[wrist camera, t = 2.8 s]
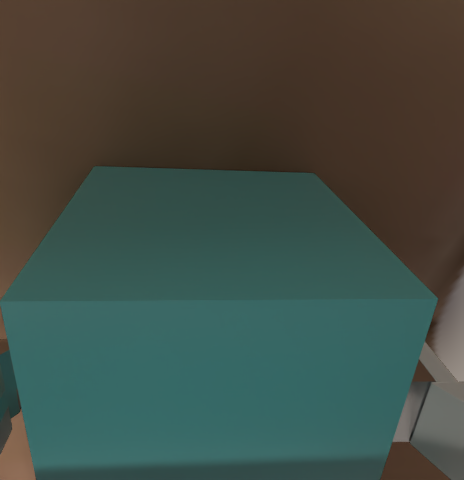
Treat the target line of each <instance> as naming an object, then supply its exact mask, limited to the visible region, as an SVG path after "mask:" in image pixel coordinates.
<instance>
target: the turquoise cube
mask: <svg viewBox="0 0 464 480" xmlns="http://www.w3.org/2000/svg"><path fill="white" fill-rule="evenodd" d="M437 301H438V298H437V297H436V296H435V295H434V294H433V293H432V292H431V291H430V290H429V289H428V288H427V287H426V286H425V285H424V284H423V283H422V282H421V281H420V280H419V279H418V278H417V277H416V276H415V275H414V274H413V273H412V272H411V271H410V270H409V269H408V268H407V267H406V266H405V265H404V264H403V263H402V262H401V260H400V259H399V258H398V257H397V256H396V255H395V254H394V253H393V252H392V251H391V250H390V249H389V248H388V247H387V246H386V245H385V244H384V243H383V242H382V241H381V240H380V239H379V238H378V237H377V236H376V235H375V234H374V233H373V232H372V231H371V230H370V229H369V228H368V227H367V226H366V225H365V224H364V223H363V222H362V221H361V220H360V219H359V218H358V217H357V216H356V215H355V214H354V213H353V212H352V211H351V210H350V209H349V208H348V207H347V206H346V205H345V204H344V203H343V202H342V201H341V200H340V199H339V198H338V197H337V196H336V195H335V194H334V193H333V192H332V191H331V190H330V189H329V188H328V187H327V186H326V185H325V184H324V182H323V181H322V180H321V179H320V178H319V177H318V176H317V175H316V174H315V173H296V172H265V171H233V170H202V169H171V168H139V167H108V166H94V167H93V169H92V170H91V172H90V173H89V174H88V176H87V177H86V179H85V180H84V182H83V183H82V184H81V186H80V187H79V189H78V190H77V192H76V193H75V194H74V196H73V197H72V199H71V200H70V202H69V203H68V204H67V206H66V207H65V209H64V210H63V212H62V213H61V214H60V216H59V217H58V219H57V220H56V222H55V223H54V224H53V226H52V227H51V229H50V230H49V232H48V233H47V234H46V236H45V237H44V239H43V240H42V242H41V243H40V245H39V246H38V247H37V249H36V250H35V252H34V253H33V255H32V256H31V257H30V259H29V260H28V262H27V263H26V265H25V266H24V267H23V269H22V270H21V272H20V273H19V275H18V276H17V277H16V279H15V280H14V282H13V283H12V285H11V286H10V287H9V289H8V290H7V292H6V293H5V295H4V296H3V297H2V299H1V300H0V306H1V311H2V316H3V320H4V325H5V330H6V335H7V340H8V345H9V350H10V355H11V359H12V364H13V369H14V374H15V379H16V384H17V389H18V394H19V398H20V403H21V408H22V413H23V418H24V423H25V428H26V432H27V437H28V442H29V447H30V452H31V457H32V462H33V467H34V471H35V476H36V480H380V478H381V475H382V472H383V469H384V466H385V463H386V460H387V457H388V454H389V450H390V447H391V444H392V441H393V438H394V435H395V432H396V429H397V426H398V423H399V419H400V416H401V413H402V410H403V407H404V404H405V401H406V398H407V395H408V391H409V388H410V385H411V382H412V379H413V376H414V373H415V370H416V367H417V363H418V360H419V357H420V354H421V351H422V348H423V345H424V342H425V339H426V335H427V332H428V329H429V326H430V323H431V320H432V317H433V314H434V311H435V307H436V304H437Z"/></svg>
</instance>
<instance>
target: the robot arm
mask: <svg viewBox="0 0 464 480" xmlns="http://www.w3.org/2000/svg"><path fill="white" fill-rule="evenodd" d="M20 410H21V403H20V398H19V394H18V389H17V384H16V379H15V374H14V369H13V364H12V359H11V355H10V350H9V345H8V340H7V339H0V454H1V452H2V450H3V448H4V446H5V443H6V441H7V439H8V437H9V435H10V433H11V430H12V423H11V418H12V417H14V416H15V415H16V414H18V413H19V412H20ZM392 442H410V444H411V445H412V446H413V447H415V448H416V449H417V450H418V451H419V452H420V453H421V454H422V455H424V456H425V457H426V458H427V459H428V460H429V461H430V462H432V463H433V464H434V465H435V466H436V467H437V468H438V469H439V470H441V471H442V472H443V473H444V474H445V475H446V476H447V477H449V478H450V479H451V480H464V382H458V381H457V380H456V379H455V377H454V376H453V375H452V374H451V373H450V371H449V370H448V369H447V368H446V366H445V365H444V364H443V363H442V362H441V360H440V359H439V358H438V357H437V356H436V354H435V353H434V352H433V351H432V350H431V348H430V347H429V346H428V345H427V344H426V342H424V345H423V348H422V351H421V354H420V357H419V360H418V363H417V367H416V370H415V373H414V376H413V379H412V382H411V385H410V388H409V391H408V395H407V398H406V401H405V404H404V407H403V410H402V413H401V416H400V419H399V423H398V426H397V429H396V432H395V435H394V438H393V441H392Z"/></svg>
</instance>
